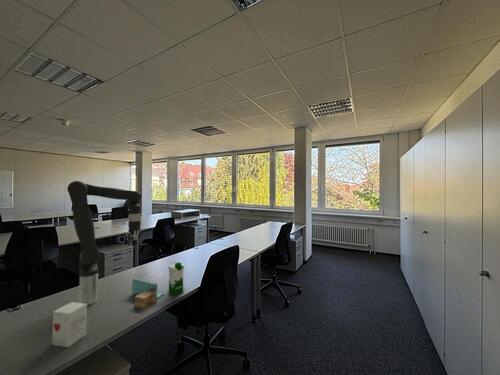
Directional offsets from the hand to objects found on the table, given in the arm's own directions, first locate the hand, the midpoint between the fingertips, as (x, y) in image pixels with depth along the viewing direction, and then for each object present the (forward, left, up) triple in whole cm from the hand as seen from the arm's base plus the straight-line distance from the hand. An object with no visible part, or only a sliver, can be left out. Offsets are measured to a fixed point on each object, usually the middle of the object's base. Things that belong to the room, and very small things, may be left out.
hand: (134, 245), depth 149 cm
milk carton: (+11, -27, -32) cm, 43 cm away
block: (-8, -20, -32) cm, 39 cm away
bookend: (+1, -12, -32) cm, 34 cm away
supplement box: (-46, -15, -32) cm, 58 cm away
